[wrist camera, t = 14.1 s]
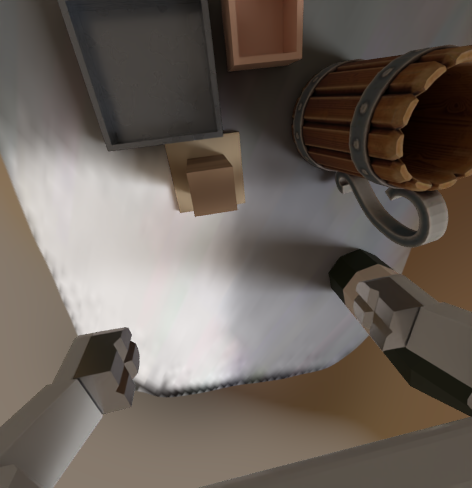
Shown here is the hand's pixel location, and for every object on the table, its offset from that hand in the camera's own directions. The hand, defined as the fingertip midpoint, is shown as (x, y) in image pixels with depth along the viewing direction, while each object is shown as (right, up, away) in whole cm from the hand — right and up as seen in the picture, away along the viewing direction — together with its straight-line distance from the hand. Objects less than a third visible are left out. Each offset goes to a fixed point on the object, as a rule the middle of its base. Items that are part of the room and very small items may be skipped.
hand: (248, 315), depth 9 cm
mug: (+11, +15, +21) cm, 28 cm away
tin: (-8, +18, +15) cm, 25 cm away
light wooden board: (-4, +11, +20) cm, 23 cm away
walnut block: (-4, +10, +19) cm, 22 cm away
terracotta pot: (+1, +23, +14) cm, 27 cm away
